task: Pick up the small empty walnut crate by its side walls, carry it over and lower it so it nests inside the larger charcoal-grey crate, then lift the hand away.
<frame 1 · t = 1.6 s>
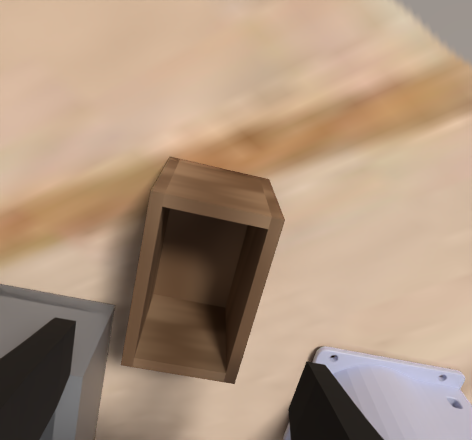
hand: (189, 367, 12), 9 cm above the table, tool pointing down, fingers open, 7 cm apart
big crate: (0, 382, 24), on the table
small crate: (203, 240, 21), on the table
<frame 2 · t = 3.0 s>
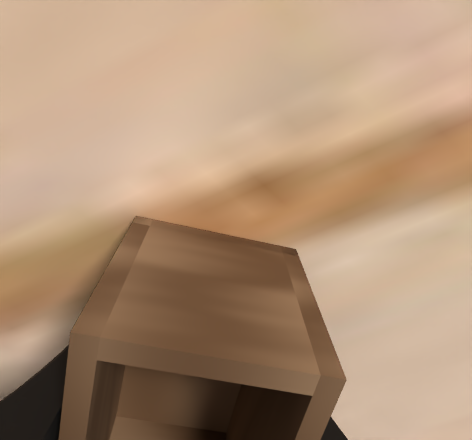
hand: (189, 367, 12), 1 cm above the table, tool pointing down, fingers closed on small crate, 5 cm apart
small crate: (192, 337, 14), on the table, touching gripper
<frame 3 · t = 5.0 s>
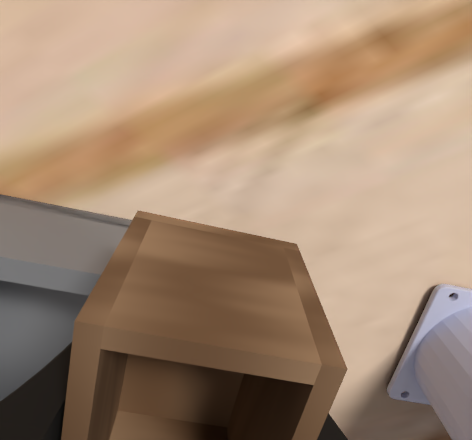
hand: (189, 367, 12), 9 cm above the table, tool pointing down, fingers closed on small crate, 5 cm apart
big crate: (88, 328, 22), on the table
small crate: (193, 332, 14), point 7 cm above the table, touching gripper
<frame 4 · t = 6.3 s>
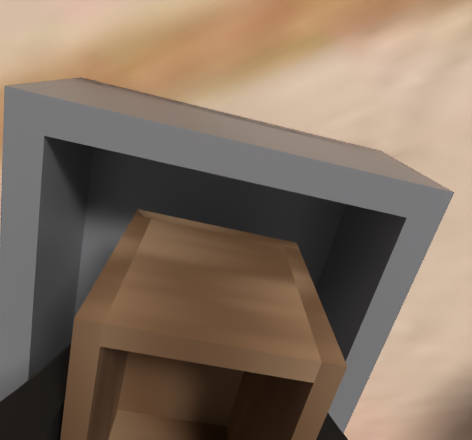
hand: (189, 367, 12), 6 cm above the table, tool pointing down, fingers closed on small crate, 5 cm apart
big crate: (200, 271, 18), on the table
small crate: (193, 331, 14), point 5 cm above the table, touching gripper
when the fingers open (4 cm above the table, at t = 7.2 s): small crate drops 1 cm, resting on big crate.
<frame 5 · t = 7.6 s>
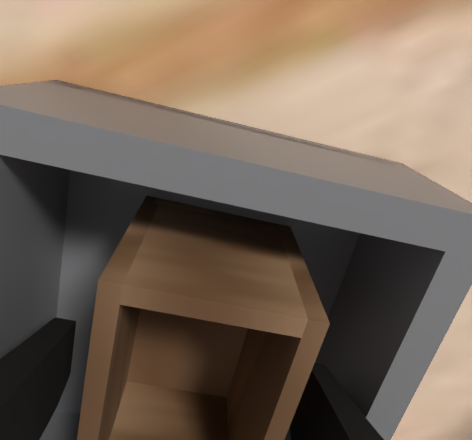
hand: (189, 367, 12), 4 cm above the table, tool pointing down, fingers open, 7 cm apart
big crate: (196, 297, 16), on the table
small crate: (196, 308, 15), point 1 cm above the table, touching big crate
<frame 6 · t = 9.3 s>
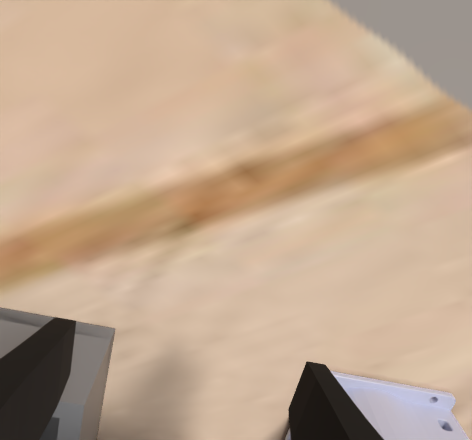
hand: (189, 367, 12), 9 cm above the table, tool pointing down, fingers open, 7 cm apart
big crate: (2, 402, 25), on the table
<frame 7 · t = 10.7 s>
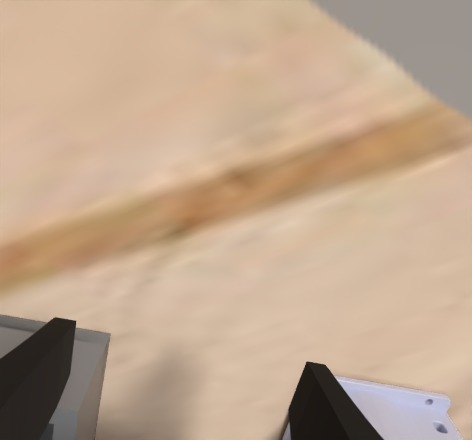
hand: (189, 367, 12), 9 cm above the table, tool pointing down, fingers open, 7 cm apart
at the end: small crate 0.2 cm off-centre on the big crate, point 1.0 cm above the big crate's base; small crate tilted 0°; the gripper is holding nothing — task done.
